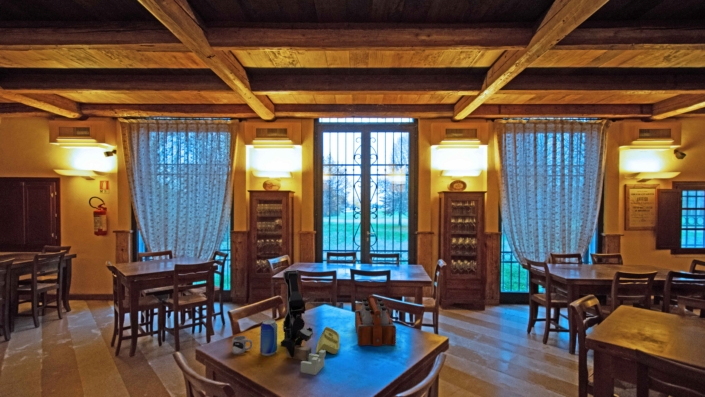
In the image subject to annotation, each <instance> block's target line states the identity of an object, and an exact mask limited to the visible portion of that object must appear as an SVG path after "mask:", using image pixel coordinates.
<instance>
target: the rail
mask: <svg viewBox="0 0 705 397" xmlns="http://www.w3.org/2000/svg"><path fill="white" fill-rule="evenodd" d="M285 351H286V352H285V354H286V356H285V357H286V358H288V357H289V358H288V359H294V360H299V361H307V362H309V354H310V353H311V354H312V347H310V346H307V345H306V346H304V345H301V346H300V345H296V346H295V348H294V356H293V357H291V356H290V354H289V352H288V350H287V348H286V347H285Z"/></svg>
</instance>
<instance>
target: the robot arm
mask: <svg viewBox="0 0 705 397" xmlns="http://www.w3.org/2000/svg"><path fill="white" fill-rule="evenodd" d="M282 275H283V279H284V280H283V281H284V283H285V284H286V295H287V296H286V297H287V298H286V299H287V301H286V302H287V303H286V304H287V307H286V310H287V311H286V313H285V316H284V320H283V323H282V331H283V333H284V335H283V336H284V338H283V339H282V340H281V341H280V347H283V348H285V349H286V348H287V350H288V352H289V354H290V356H291V357H293V356H294V348H295V346H296V345H300V346H302V344H303V341H304V342H308V341H309V340H310V339H311V338H312V336H313V335H314V333H313V327H311V326H309V327H308V328H305V325H306V324H305V321H304V318H303V315H304V314H306V310H307V309H306V302H305V300H304V299H303V296H302V294H301V293H300V292H299V282H298V279H299V278H300V272H299V271H297V269H285V271H283V274H282Z"/></svg>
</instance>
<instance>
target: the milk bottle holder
mask: <svg viewBox="0 0 705 397" xmlns="http://www.w3.org/2000/svg"><path fill="white" fill-rule="evenodd" d="M376 300H377V301H375V297H374V295H373V294H372V295H371V294H369V296H368V298H366V297H363V298H362V301H361V302H362V305H361V307H360V309H356V310H354V328H355V330H356V335H357V345H358V346H372V347H383V346H388V345H389V346H396V344H397V327H396V324H394V323H393V320H392V319H391V317H390V314H389V311H388V309H387V307H386V305H385V302H383V298H382V297H381V298H380V297H378V298H377V299H376ZM376 303H377V304H376Z"/></svg>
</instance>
